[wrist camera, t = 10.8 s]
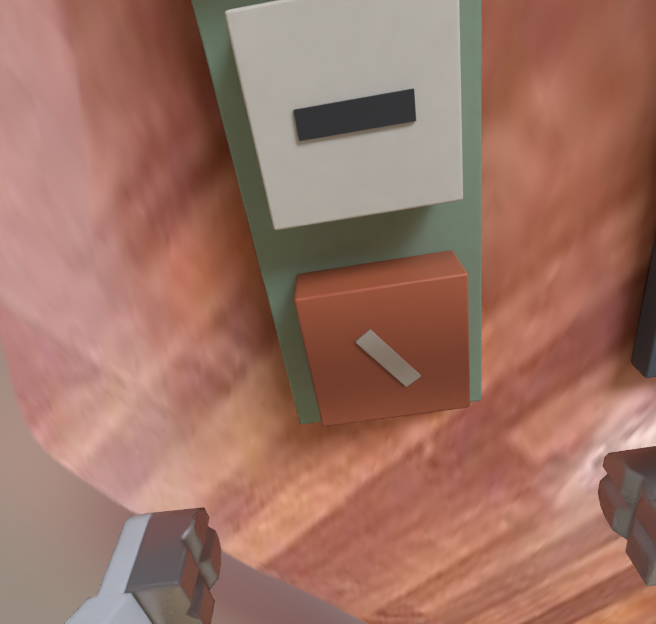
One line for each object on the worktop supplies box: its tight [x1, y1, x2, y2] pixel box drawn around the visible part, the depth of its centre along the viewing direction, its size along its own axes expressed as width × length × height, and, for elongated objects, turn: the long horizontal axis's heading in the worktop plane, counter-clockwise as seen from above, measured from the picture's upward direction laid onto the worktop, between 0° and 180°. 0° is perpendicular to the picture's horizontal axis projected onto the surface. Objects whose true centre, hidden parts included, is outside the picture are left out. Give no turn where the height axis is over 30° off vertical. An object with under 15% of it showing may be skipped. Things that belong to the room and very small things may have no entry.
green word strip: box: [191, 0, 481, 424], centre depth 12 cm, size 22×7×3 cm, turn 9°
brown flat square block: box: [294, 250, 470, 426], centre depth 15 cm, size 5×5×2 cm
